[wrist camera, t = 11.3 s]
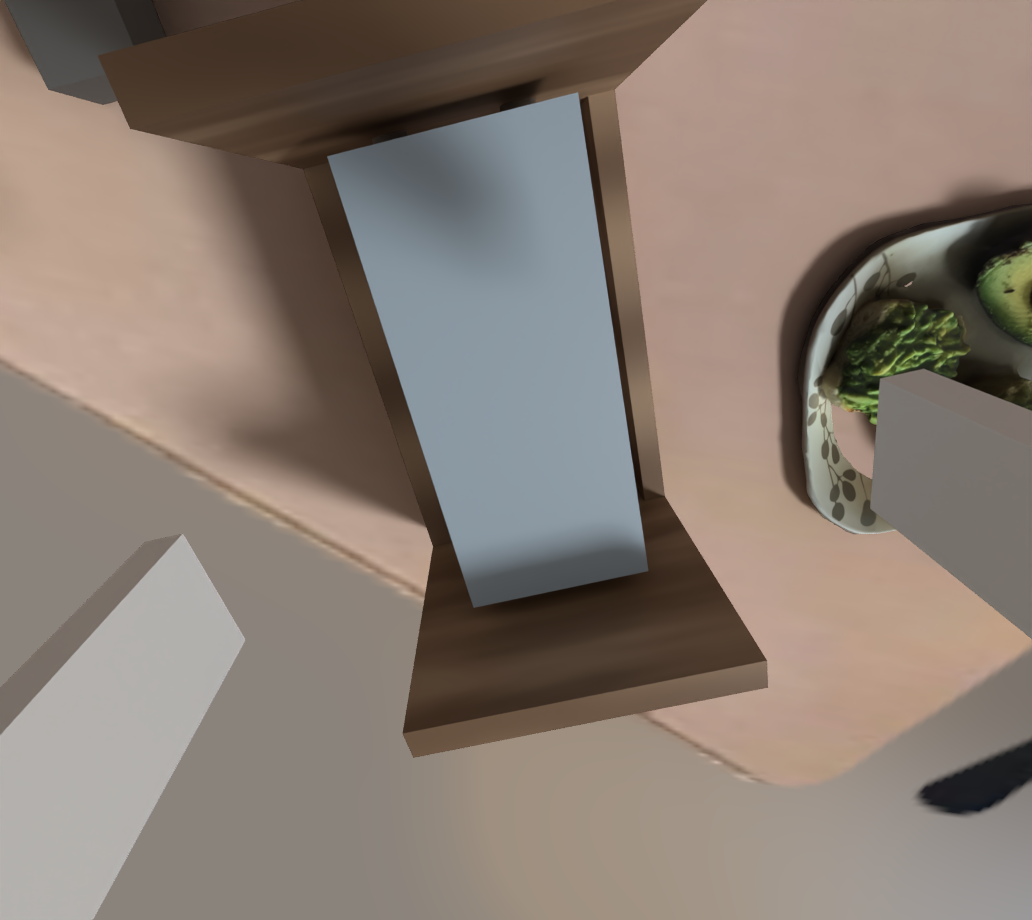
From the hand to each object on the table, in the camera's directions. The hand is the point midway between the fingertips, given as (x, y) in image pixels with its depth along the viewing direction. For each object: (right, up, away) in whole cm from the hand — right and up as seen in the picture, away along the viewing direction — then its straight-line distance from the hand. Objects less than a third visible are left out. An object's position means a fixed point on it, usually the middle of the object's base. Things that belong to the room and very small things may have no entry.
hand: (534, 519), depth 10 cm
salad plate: (+23, +6, +19) cm, 30 cm away
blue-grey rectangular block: (-1, +5, +11) cm, 12 cm away
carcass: (-1, +7, +16) cm, 18 cm away
